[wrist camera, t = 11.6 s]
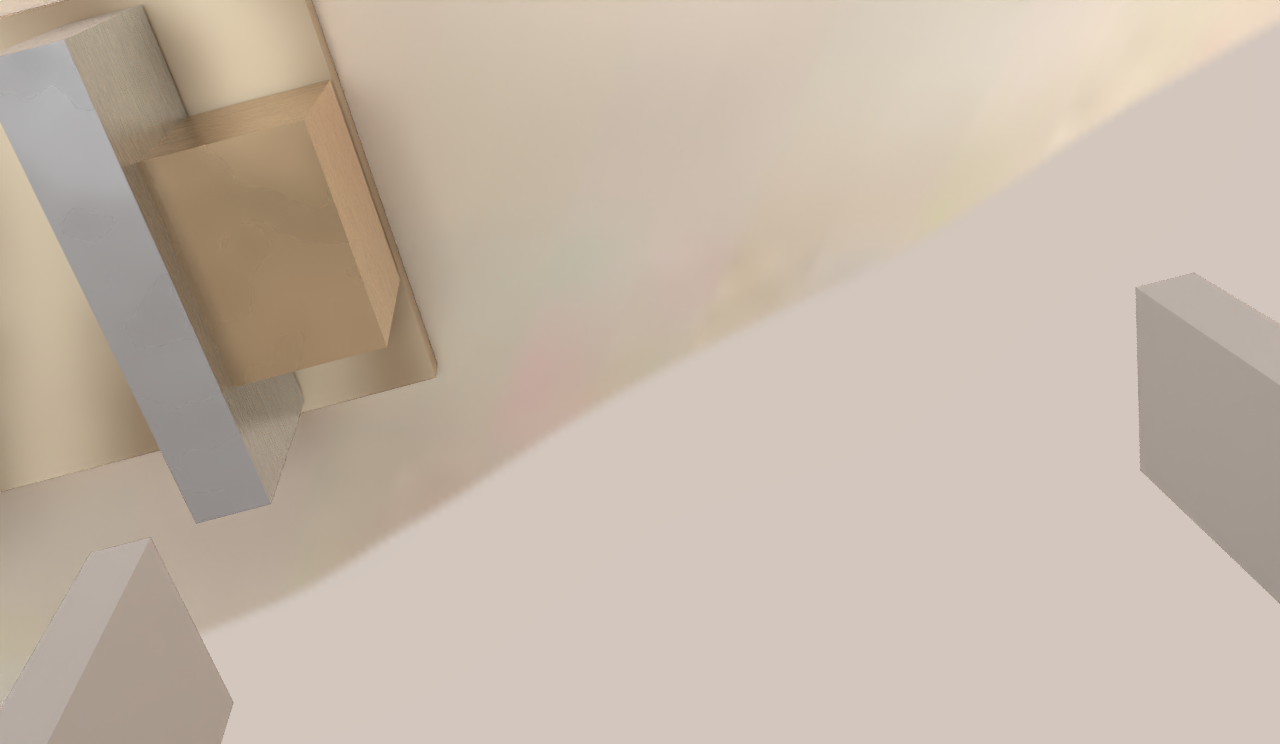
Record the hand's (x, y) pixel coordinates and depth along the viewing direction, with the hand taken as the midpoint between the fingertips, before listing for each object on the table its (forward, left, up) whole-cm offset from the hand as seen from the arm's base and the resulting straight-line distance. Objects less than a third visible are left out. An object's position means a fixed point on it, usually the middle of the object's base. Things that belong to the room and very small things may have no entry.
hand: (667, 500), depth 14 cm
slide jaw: (-9, 0, -20) cm, 22 cm away
